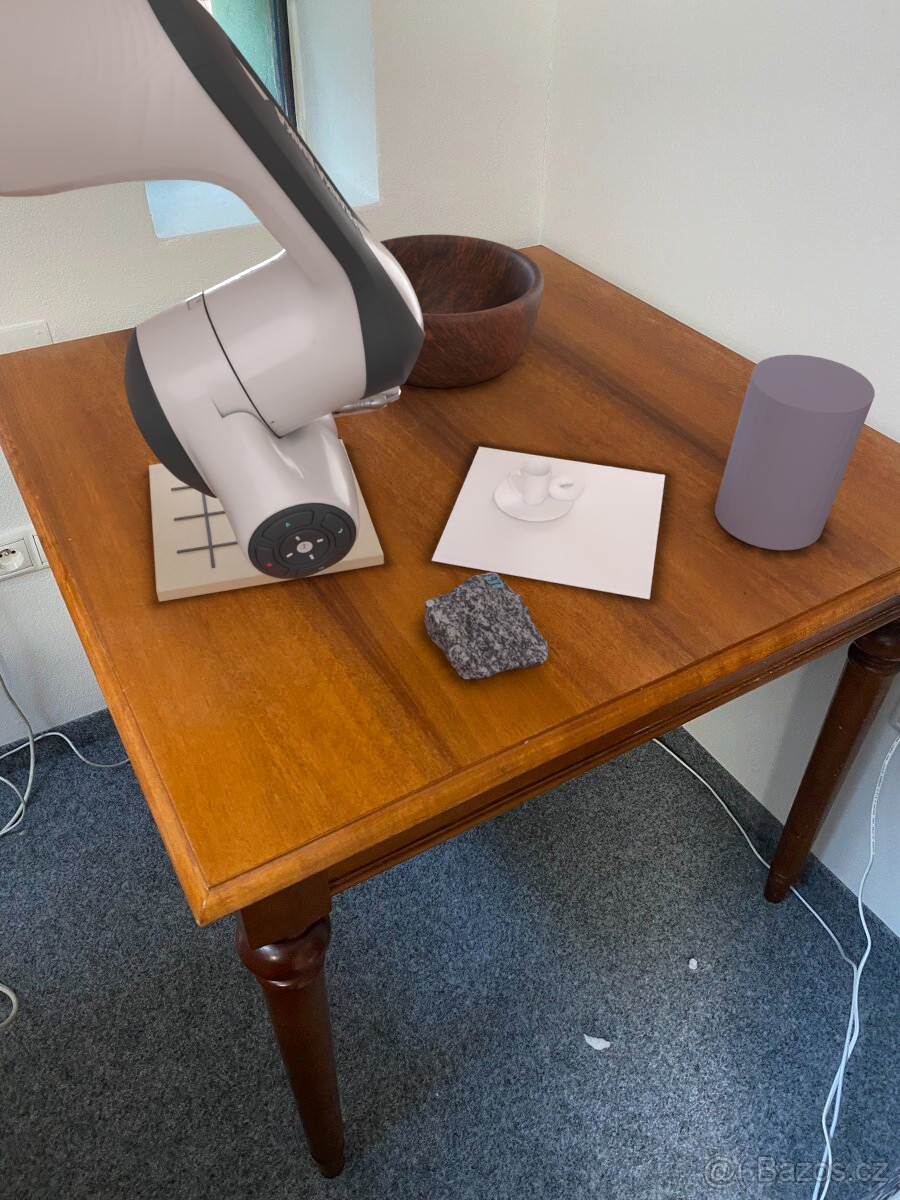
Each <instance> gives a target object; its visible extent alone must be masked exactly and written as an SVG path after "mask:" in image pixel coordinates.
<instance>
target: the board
mask: <svg viewBox="0 0 900 1200" xmlns="http://www.w3.org/2000/svg"><path fill="white" fill-rule="evenodd" d="M339 441H340V442H341V444H342V445H343V447H344V449H345V452H346V454H347V457H348V460H349V463H350V467H351V470H352V474H353V478H354V482H355V487H356V492H357V497H358V504H359V517H360V526H359V533H358V537H357V540H356V542H355V544H354V546H353V547H352V549H351V550H350V552H349V553H348V554H347V555H346V556H345V557H344V558H343V559H342V560H341V561H339V562H337V563H336V564H334V565H332V566H330V567H328V568H326V569H324V570H322V571H320V572H318V573H315V574H313V575H310V576H306V577H303V578H309V577H314V576H321V575H322V576H323V575H328V574H333V573H339V572H345V571H351V570H356V569H363V568H369V567H375V566H380V565H384V564H385V560H384V559H385V558H384V557H385V555H384V552H383V550H382V546H381V544H380V540H379V538H378V535H377V532H376V530H375V526H374V524H373V522H372V521H373V520H372V518H371V516H370V513H369V510H368V507H367V505H366V502H365V499H364V496H363V493H362V490H361V488H360V485H359V482H358V479H357V477H356V474H355V471H354V468H353V465H352V463H351V461H350V457H349V455H348V452H347V449H346V446H345V443H344V441H343V439H339ZM148 476H149V477H148V478H149V492H150V494H149V495H150V507H151V522H152V523H151V525H152V542H153V558H154V559H153V560H154V574H155V575H154V576H155V591H156V595H157V599H158V602H159V603H161V602H167V601H173V600H178V599H185V598H190V597H195V596H196V597H197V596H201V595H207V594H214V593H219V592H220V593H221V592H226V591H233V590H238V589H244V588H251V587H255V586H256V587H257V586H261V585H268V584H274V583H279V582H286V581H292V580H293V579H279V578H274V577H270V576H267V575H264V574H262V573H260V572H259V571H257V570H256V569H254V568H253V567H252V566H251V565H250V563H249V562H248V561H247V559H246V558H245V557H244V555H243V553H242V552H241V549H240V547H239V545H238V543H237V540H236V538H235V535H234V533H233V530H232V528H231V525H230V523H229V521H228V518H227V516H226V514H225V511H224V509H223V507H222V505H221V503H220V501H219V499H218V497H217V498H213V497H210V496H207V495H205V494H203V493H201V492H199V491H197V490H195V489H194V488H192V487H190V486H188V485H187V484H185V483H183V482H181V481H180V480H179V479H177V478H176V477H175V476H174V475H173V474H172V473H171V472H170V471H169V470H168V469H167V468H165V467H164V465H163V464H162V463H156V464H149V465H148ZM303 578H302V579H303Z"/></svg>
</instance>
